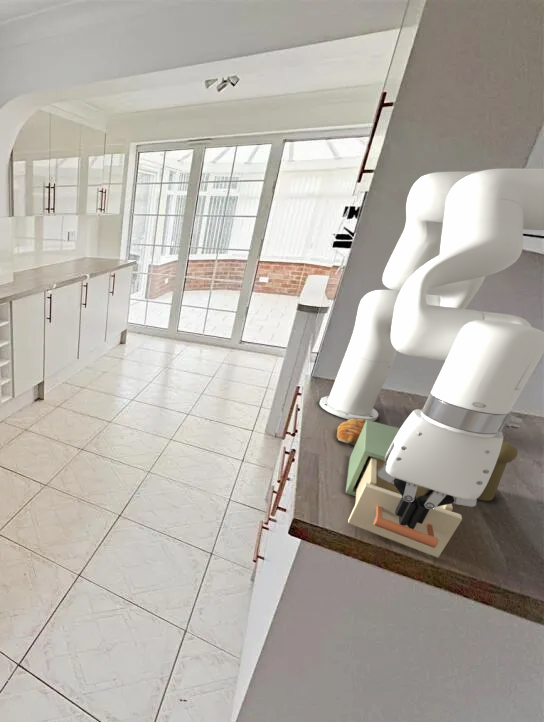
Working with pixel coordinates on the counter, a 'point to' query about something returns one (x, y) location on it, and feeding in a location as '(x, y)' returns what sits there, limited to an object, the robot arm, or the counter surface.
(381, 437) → the cabinet
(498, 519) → the counter surface
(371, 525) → the drawer
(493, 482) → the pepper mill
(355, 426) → the pastry
